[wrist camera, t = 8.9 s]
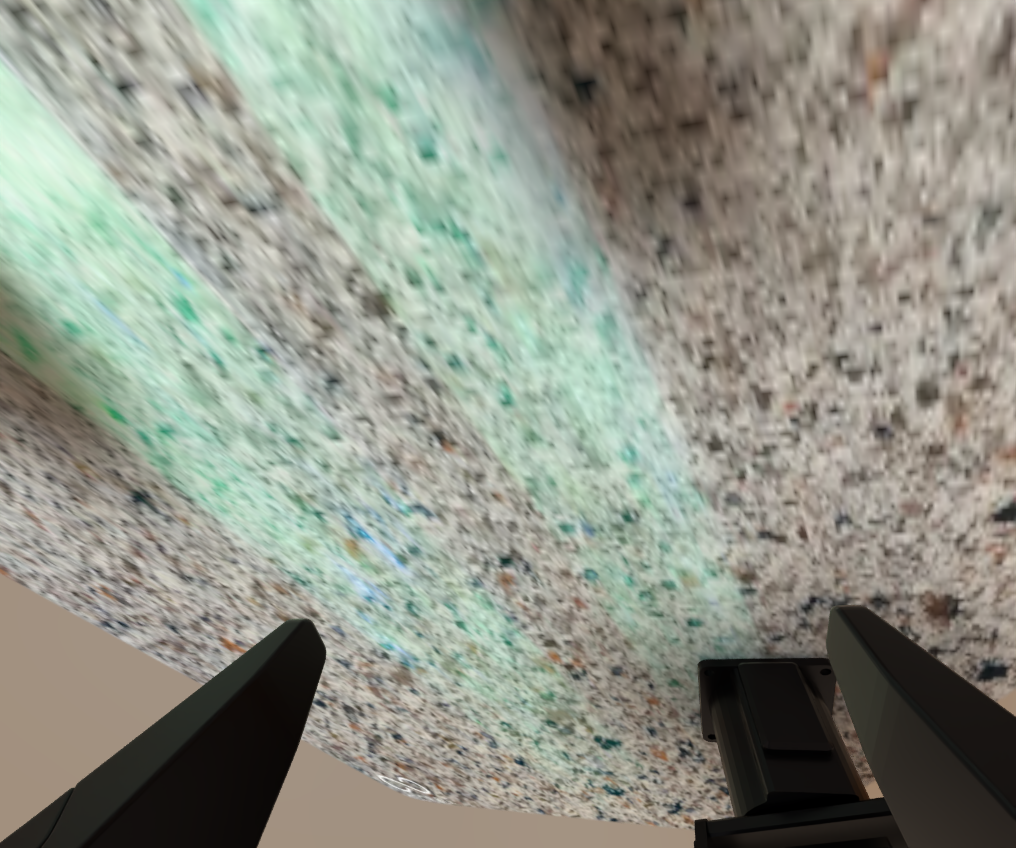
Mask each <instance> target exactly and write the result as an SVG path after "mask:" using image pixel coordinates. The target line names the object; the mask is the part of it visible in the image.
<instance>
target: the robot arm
mask: <svg viewBox="0 0 1016 848" xmlns="http://www.w3.org/2000/svg"><path fill="white" fill-rule="evenodd" d="M826 648H827V653H828V657H829V659H826V658H798V659H727V660H703V661H701V662H699V663H698V682H699V698H700V714H701V730H702V734H703V738H704V739H705V740H706V741H708V742H717V744H718V748H719V752H720V757H721V761H722V765H723V769H724V774H725V778H726V782H727V786H728V791H729V795H730V799H731V803H732V807H733V812H734V816H735V817H733V818H725V819H718V820H711V821H708V820H707V819H699V820H695V841H694V848H1016V716H1014V715H1013V714H1012V713H1010V712H1009V711H1007V710H1006V709H1005V708H1003V707H1002V706H1000V705H999V704H998V703H997V702H995V701H994V700H992V699H991V698H990V697H988V696H987V695H986V694H984V693H983V692H982V691H980V690H979V689H977V688H976V687H975V686H973V685H972V684H971V683H969V682H968V681H967V680H965V679H964V678H962V677H961V676H960V675H958V674H957V673H956V672H954V671H953V670H951V669H950V668H949V667H947V666H946V665H945V664H943V663H942V662H941V661H939V660H938V659H936V658H935V657H934V656H932V655H931V654H930V653H928V652H927V651H926V650H924V649H923V648H921V647H920V646H919V645H917V644H916V643H915V642H913V641H912V640H911V639H909V638H908V637H906V636H905V635H904V634H902V633H901V632H900V631H898V630H897V629H896V628H894V627H893V626H891V625H890V624H889V623H887V622H886V621H885V620H883V619H882V618H881V617H879V616H878V615H876V614H875V613H874V612H872V611H871V610H870V609H868V608H866V607H864V606H861V605H837V606H834V607H832V609H831V611H830V616H829V624H828V631H827V639H826ZM325 660H326V647H325V645H324V643H323V641H322V639H321V637H320V635H319V633H318V631H317V629H316V627H315V625H314V623H313V622H312V621H311V620H309V619H290V620H288V621H286V622H284V623H283V624H282V625H281V626H279V627H278V628H277V629H275V630H274V631H273V632H272V633H270V634H269V635H268V636H266V637H265V638H264V639H263V640H261V641H260V642H259V643H257V644H256V645H255V646H254V647H252V648H251V649H250V650H248V651H247V652H246V653H245V654H243V655H242V656H241V657H239V658H238V659H237V660H236V661H234V662H233V663H232V664H230V665H229V666H228V667H227V668H225V669H224V670H223V671H221V672H220V673H219V674H218V675H216V676H215V677H214V678H212V679H211V680H210V681H209V682H207V683H206V684H205V685H203V686H202V687H201V688H200V689H198V690H197V691H196V692H194V693H193V694H192V695H190V696H189V697H188V698H187V699H185V700H184V701H183V702H182V703H180V704H179V705H178V706H176V707H175V708H174V709H172V710H171V711H170V712H169V713H167V714H166V715H165V716H164V717H162V718H161V719H160V720H158V721H157V722H156V723H155V724H153V725H152V726H151V727H149V728H148V729H147V730H145V731H144V732H143V733H142V734H140V735H139V736H138V737H136V738H135V739H134V740H133V741H131V742H130V743H129V744H127V745H126V746H125V747H124V748H123V749H121V750H120V751H118V752H117V753H116V754H115V755H113V756H112V757H111V758H110V759H108V760H107V761H106V762H104V763H103V764H102V765H100V766H99V767H98V768H97V769H95V770H94V771H93V772H91V773H90V774H89V775H88V776H86V777H85V778H84V779H82V780H81V781H80V782H79V783H77V785H76V787H75V788H71V789H69V790H68V791H67V792H65V793H64V794H63V795H62V796H60V797H59V798H58V799H57V800H55V801H54V802H53V803H51V804H50V805H49V806H48V807H46V808H45V809H44V810H42V811H41V812H40V813H38V814H37V815H36V816H35V817H33V818H32V819H31V820H29V821H28V822H27V823H26V824H24V825H23V826H21V827H20V828H19V829H18V830H16V831H15V832H14V833H12V834H11V835H10V836H8V837H7V838H6V839H4V840H3V841H2V842H0V848H257V846H258V844H259V841H260V839H261V836H262V834H263V832H264V829H265V827H266V824H267V822H268V820H269V817H270V814H271V812H272V810H273V807H274V805H275V802H276V800H277V797H278V795H279V793H280V790H281V788H282V785H283V783H284V780H285V778H286V776H287V773H288V771H289V768H290V766H291V763H292V761H293V758H294V756H295V753H296V751H297V748H298V745H299V742H300V739H301V737H302V734H303V731H304V728H305V724H306V721H307V718H308V715H309V712H310V708H311V705H312V702H313V699H314V696H315V692H316V689H317V686H318V683H319V680H320V676H321V673H322V670H323V667H324V664H325ZM836 679H837V682H838V684H839V687H840V690H841V692H842V695H843V698H844V700H845V703H846V706H847V708H848V711H849V714H850V716H851V719H852V722H853V724H854V727H855V730H856V732H857V735H858V738H859V740H860V743H861V746H862V749H863V751H864V754H865V756H866V759H867V761H868V764H869V766H870V769H871V771H872V773H873V775H874V777H875V779H876V782H877V783H878V786H879V788H880V790H881V792H882V794H883V796H884V797H883V798H875V799H870V798H869V796H868V794H867V792H866V789H865V787H864V785H863V783H862V781H861V779H860V777H859V774H858V772H857V770H856V768H855V766H854V764H853V761H852V759H851V757H850V755H849V753H848V751H847V748H846V746H845V744H844V742H843V740H842V738H841V735H840V733H839V731H838V729H837V727H836V725H835V723H834V720H833V718H832V709H833V701H834V692H835V684H836Z"/></svg>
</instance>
